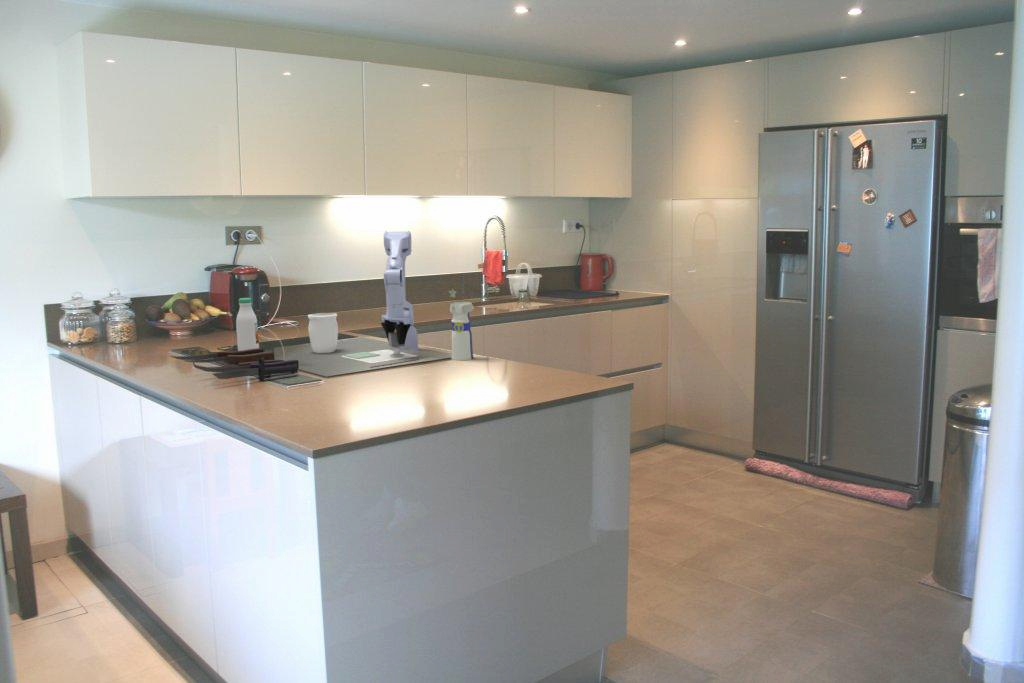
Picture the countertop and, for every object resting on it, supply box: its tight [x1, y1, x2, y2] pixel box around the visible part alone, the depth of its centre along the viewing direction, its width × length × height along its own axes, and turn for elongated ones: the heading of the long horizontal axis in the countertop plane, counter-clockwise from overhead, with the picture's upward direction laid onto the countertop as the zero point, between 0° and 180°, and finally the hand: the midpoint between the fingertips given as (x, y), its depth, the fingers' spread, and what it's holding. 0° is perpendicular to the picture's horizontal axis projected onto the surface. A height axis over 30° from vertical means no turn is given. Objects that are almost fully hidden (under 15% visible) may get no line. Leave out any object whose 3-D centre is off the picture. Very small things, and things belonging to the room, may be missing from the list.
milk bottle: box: [235, 297, 260, 351], centre depth 315 cm, size 8×8×20 cm
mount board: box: [340, 347, 419, 369], centre depth 290 cm, size 19×20×6 cm
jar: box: [307, 312, 339, 354], centre depth 302 cm, size 11×10×15 cm
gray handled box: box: [387, 330, 405, 348], centre depth 288 cm, size 5×5×5 cm
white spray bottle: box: [448, 288, 475, 361], centre depth 289 cm, size 8×9×25 cm
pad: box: [343, 351, 380, 359], centre depth 291 cm, size 9×9×1 cm
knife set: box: [169, 347, 300, 382], centre depth 270 cm, size 35×33×8 cm
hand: (396, 343), depth 289 cm, fingers closed on gray handled box, 6 cm apart
